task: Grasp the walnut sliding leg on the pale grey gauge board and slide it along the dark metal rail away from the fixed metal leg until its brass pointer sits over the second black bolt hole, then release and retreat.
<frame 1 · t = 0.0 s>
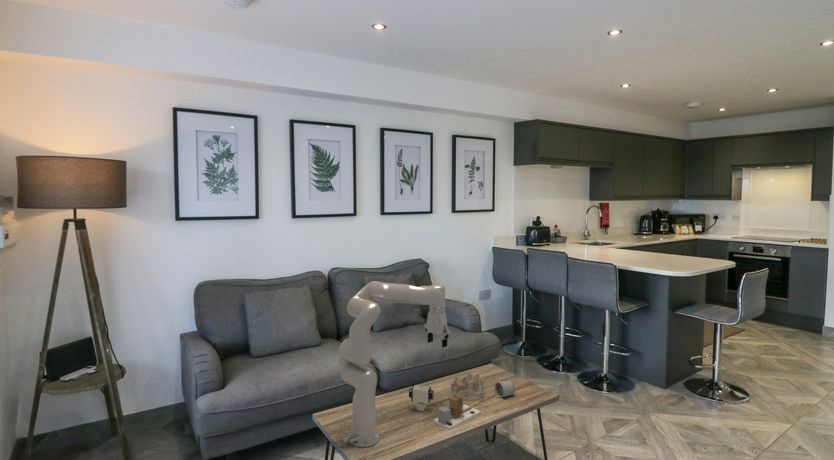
hand: (437, 344, 223), 31 cm above the table, fingers open, 9 cm apart
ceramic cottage: (467, 394, 238), on the table
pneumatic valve: (421, 409, 222), on the table
ceramic mug: (502, 395, 238), on the table
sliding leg: (458, 406, 211), point 6 cm above the table, slide at 0.0 cm
gauge board: (457, 417, 213), on the table
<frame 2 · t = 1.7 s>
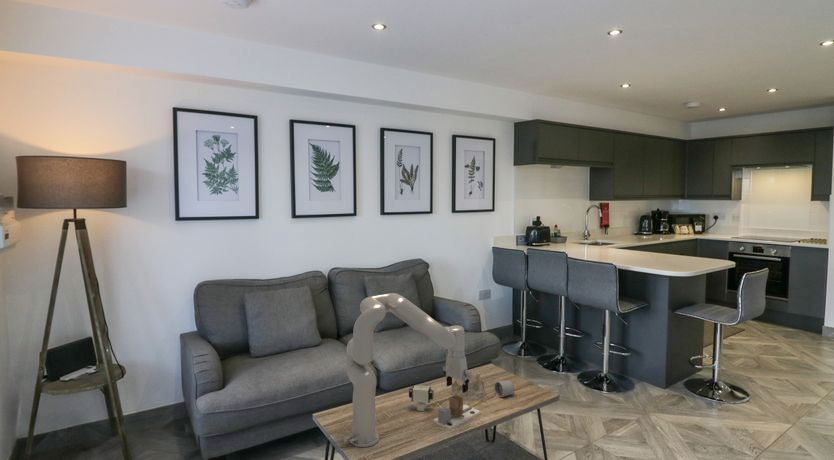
hand: (457, 388, 212), 14 cm above the table, fingers open, 9 cm apart
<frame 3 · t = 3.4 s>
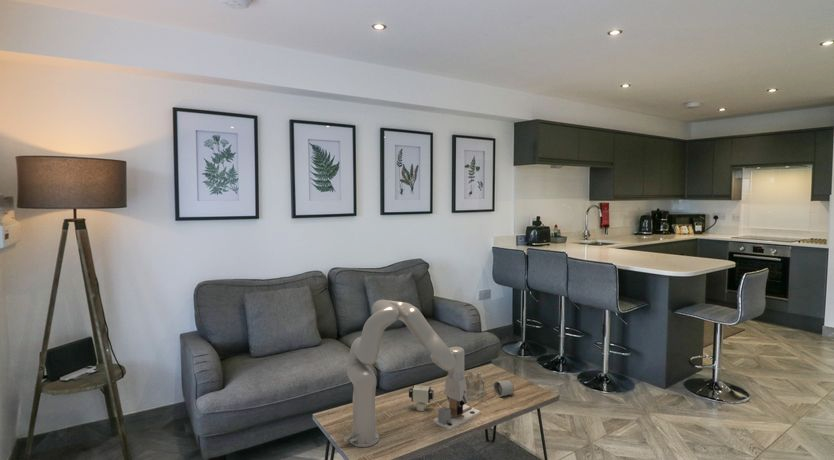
hand: (456, 411, 212), 3 cm above the table, fingers closed on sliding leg, 4 cm apart
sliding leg: (458, 406, 211), point 6 cm above the table, slide at 0.0 cm, touching gripper
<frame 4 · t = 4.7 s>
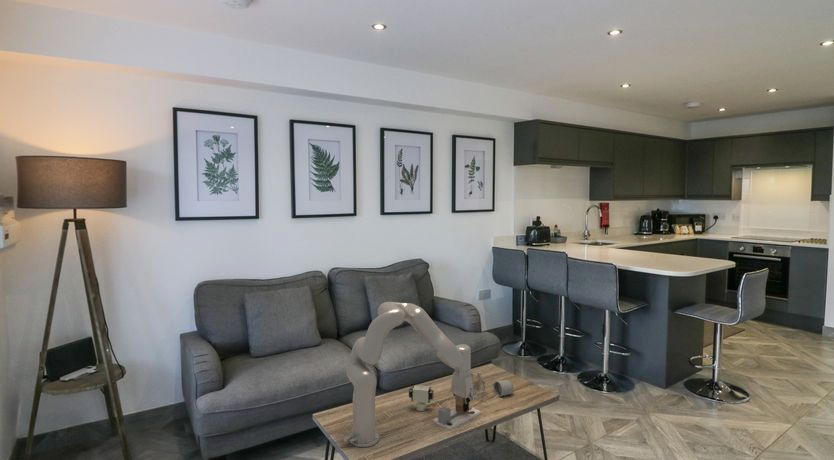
hand: (462, 408, 215), 3 cm above the table, fingers closed on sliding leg, 4 cm apart
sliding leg: (464, 403, 214), point 6 cm above the table, slide at 4.4 cm, touching gripper
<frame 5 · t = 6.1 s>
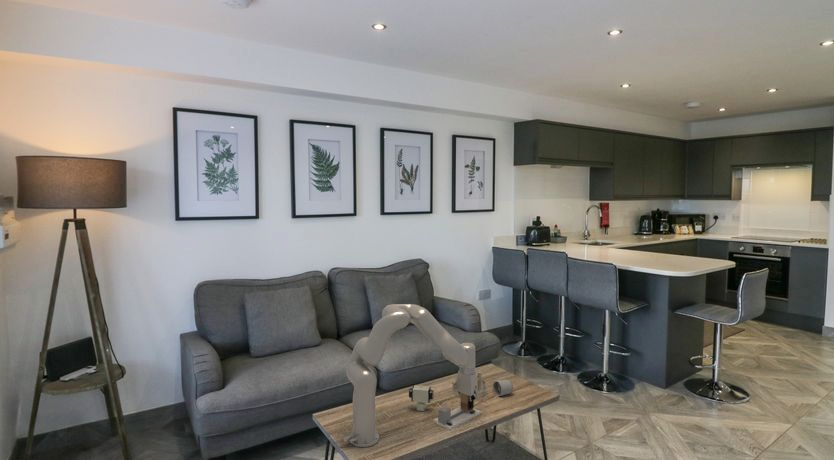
hand: (467, 406, 218), 3 cm above the table, fingers closed on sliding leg, 4 cm apart
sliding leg: (469, 401, 216), point 6 cm above the table, slide at 7.9 cm, touching gripper
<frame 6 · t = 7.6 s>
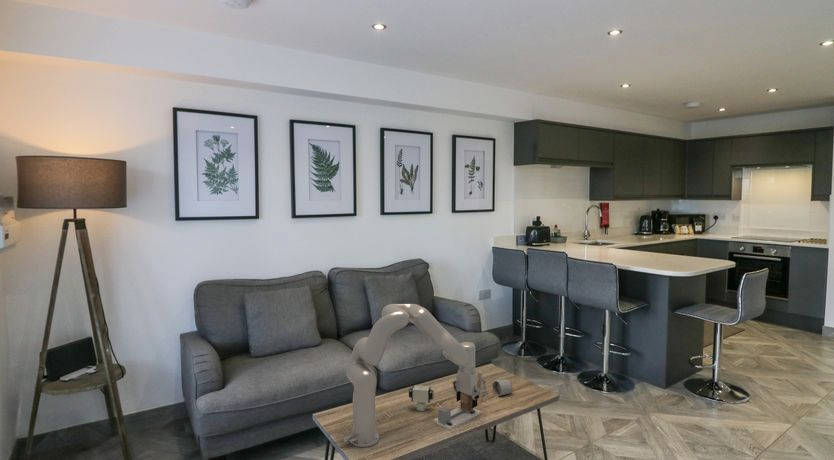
hand: (466, 403, 218), 5 cm above the table, fingers open, 9 cm apart
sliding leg: (469, 401, 216), point 6 cm above the table, slide at 8.0 cm
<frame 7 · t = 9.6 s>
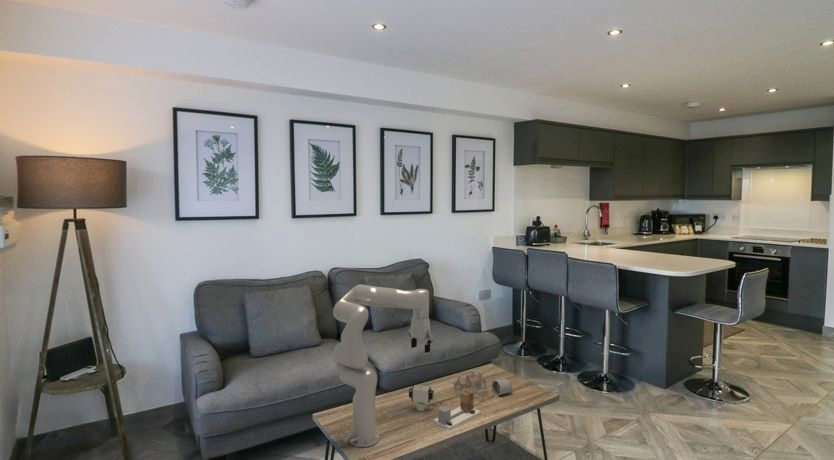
hand: (420, 349, 221), 29 cm above the table, fingers open, 9 cm apart
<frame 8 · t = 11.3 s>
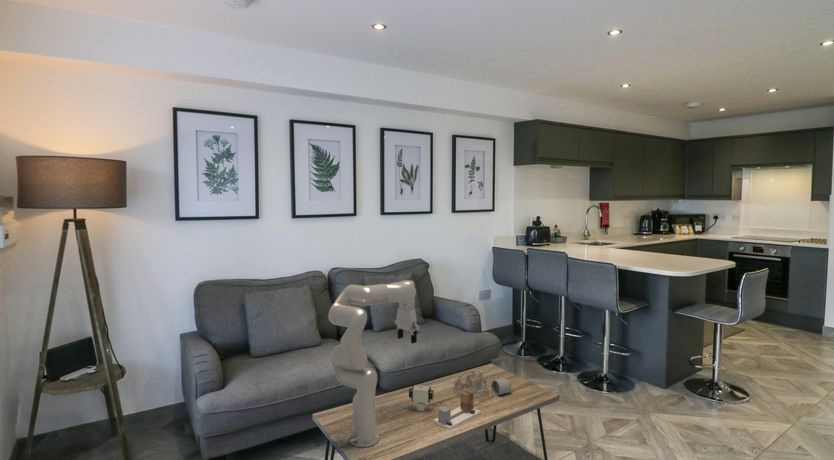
hand: (407, 340, 223), 33 cm above the table, fingers open, 9 cm apart
at the end: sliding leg slide at 8.0 cm; the gripper is holding nothing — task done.
